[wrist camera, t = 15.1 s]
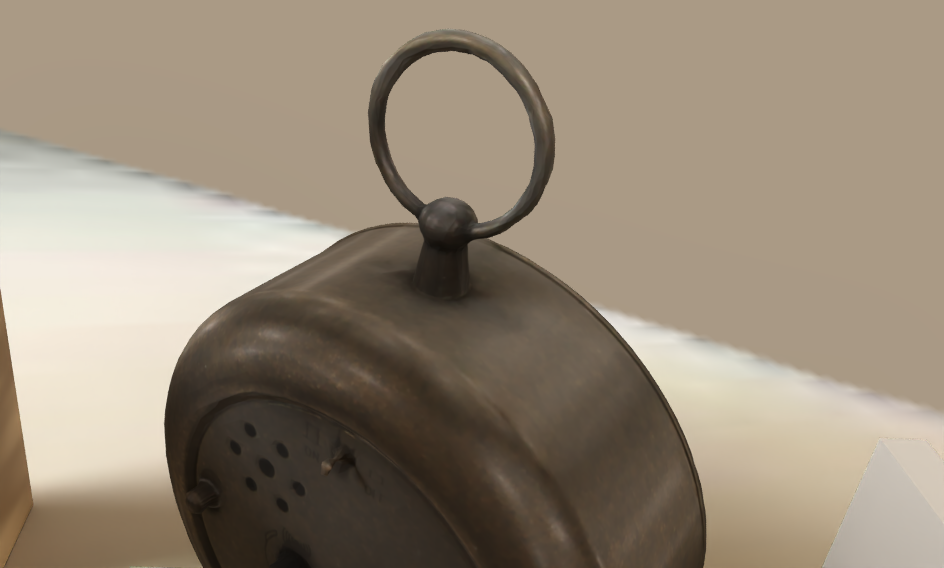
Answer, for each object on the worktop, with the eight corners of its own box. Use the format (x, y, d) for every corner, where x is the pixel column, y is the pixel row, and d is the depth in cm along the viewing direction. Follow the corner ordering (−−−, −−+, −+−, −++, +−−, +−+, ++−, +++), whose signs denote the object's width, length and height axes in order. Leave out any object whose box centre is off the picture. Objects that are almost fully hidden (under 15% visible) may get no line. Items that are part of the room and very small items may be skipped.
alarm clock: (635, 771, 21) (878, 100, 13) (513, 987, 17) (756, 207, 9) (291, 537, 26) (314, -56, 18) (132, 662, 22) (69, -34, 14)
